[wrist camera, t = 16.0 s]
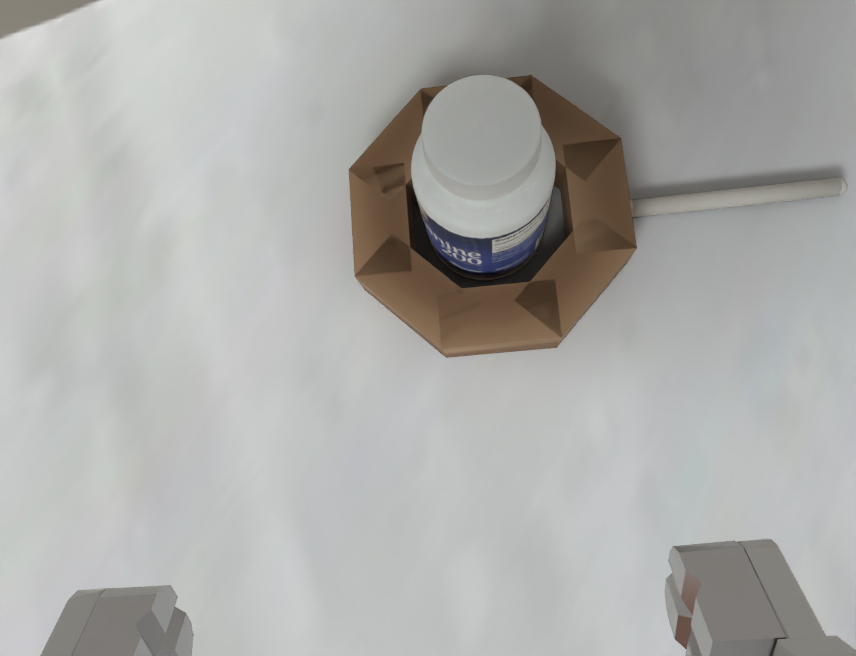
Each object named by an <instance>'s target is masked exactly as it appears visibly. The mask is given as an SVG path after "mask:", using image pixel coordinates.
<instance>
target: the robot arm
mask: <svg viewBox="0 0 856 656" xmlns="http://www.w3.org/2000/svg"><path fill="white" fill-rule="evenodd" d="M668 561H669V564H670V567H671V570H672V574H671V575H669V576H668V577H667V578H666V584H665V599H666V609H667V614H668V618H669V622H670V626H671V629H672V632H673V635H674V638H675V640H676V641H678V642H679V643H680V644H681V645H682V646H683V647H684V648H685V649H687V650H686V656H856V650H855V649H854V648H852V647H851V646H850V645H848V644H847V643H846V642H844V641H843V640H842V639H840V638H839V637H838V636H826V634H825V633H824V631H823V629H822V627H821V625H820V623H819V621H818V619H817V618H816V616H815V614H814V612H813V610H812V608H811V606H810V605H809V603H808V601H807V599H806V597H805V595H804V593H803V591H802V590H801V588H800V586H799V584H798V582H797V580H796V578H795V577H794V575H793V573H792V571H791V569H790V567H789V565H788V563H787V562H786V560H785V558H784V556H783V554H782V552H781V550H780V549H779V547H778V545H777V544H776V543H775V542H774V541H773V540H772V539H759V540H749V541H739V542H736V541H725V542H714V543H703V544H692V545H681V546H673V547H672V548H671V550H670V553H669V560H668ZM177 598H178V596H177V595H176V593H175V592H174V590H173V588H172V587H171V585H162V586H145V587H127V588H106V589H92V590H78V591H77V592H76V593H75V594H74V595H73V596H72V597H71V598H70V599H69V600H68V601H67V603H66V605H65V607H64V609H63V611H62V613H61V615H60V617H59V619H58V621H57V623H56V625H55V627H54V629H53V631H52V633H51V635H50V637H49V639H48V641H47V643H46V645H45V647H44V649H43V651H42V653H41V656H191V655H192V646H193V631H192V626H191V622H190V620H189V618H188V616H187V614H186V613H185V612H183V611H182V610H180V609H178V608H176V607H175V604H176V601H177Z"/></svg>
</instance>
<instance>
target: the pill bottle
mask: <svg viewBox="0 0 856 656" xmlns="http://www.w3.org/2000/svg"><path fill="white" fill-rule="evenodd" d="M555 169H556V161H555V152H554V149H553V145H552V142H551V140H550V138H549V136H548V134H547V132H546V131H545V129H544V128H543V126H542V125H541V119H540V115H539V112H538V109H537V107H536V105H535V103H534V101H533V100H532V98H531V97H530V96H529V94H528V93H527V92H526V91H525V90H524V89H523V88H521V87H520V86H518V85H517V84H516V83H514V82H512V81H510V80H508V79H505V78H502V77H498V76H494V75H474V76H469V77H465V78H462V79H459V80H457V81H455V82H453V83H451V84H450V85H448V86H447V87H445V88H444V89H443V90H441V91H440V92H439V93H438V94H437V95H436V96H435V98H434V99H433V100H432V102H431V103H430V105H429V106H428V108H427V111H426V113H425V115H424V119H423V123H422V132H421V134H420V136H419V138H418V140H417V142H416V145H415V148H414V151H413V155H412V162H411V176H412V182H413V188H414V191H415V195H416V198H417V201H418V205H419V208H420V212H421V215H422V218H423V221H424V224H425V227H426V230H427V233H428V237H429V239H430V242H431V244H432V247H433V249H434V251H435V252H436V254H437V256H438V257H439V259H440V260H441V261H442V262H443V263H444V264H445V265H446V266H447V267H449V268H450V269H451V270H452V271H454V272H456V273H458V274H460V275H461V276H464V277H467V278H470V279H475V280H494V279H499V278H503V277H506V276H509V275H511V274H512V273H515V272H516V271H518V270H519V269H520V268H522V267H523V266H524V265H525V264H527V263H528V261H529V260H530V259H531V258H532V257H533V255H534V254H535V252H536V250H537V248H538V246H539V244H540V242H541V239H542V236H543V232H544V227H545V223H546V217H547V212H548V208H549V204H550V199H551V194H552V189H553V186H554V181H555Z"/></svg>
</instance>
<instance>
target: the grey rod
mask: <svg viewBox="0 0 856 656" xmlns="http://www.w3.org/2000/svg"><path fill="white" fill-rule="evenodd" d="M847 187H848V185H847V182H846V180H844V179H843V178H829V179H819V180H810V181H801V182H791V183H782V184H773V185H764V186H754V187H745V188H736V189H726V190H717V191H708V192H698V193H689V194H680V195H670V196H661V197H652V198H642V199H633V200H630V205H631V212H632V217H641V216H651V215H660V214H670V213H679V212H689V211H698V210H708V209H717V208H727V207H736V206H746V205H755V204H765V203H774V202H784V201H793V200H803V199H812V198H822V197H831V196H839V195H842V194H843V193H844V192H845V191H846V190H847Z"/></svg>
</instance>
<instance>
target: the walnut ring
mask: <svg viewBox="0 0 856 656" xmlns="http://www.w3.org/2000/svg"><path fill="white" fill-rule="evenodd" d="M505 79H508V80H510V81H512V82H514V83H516V84H517V85H518V86H520V87H521V88H523V89H524V90H525V91H526V92H527V93H528V94H529V96H530V97H531V98H532V100H533V101H534V103H535V105H536V107H537V109H538V112H539V115H540V119H541V125H542V126H543V128H544V129H545V131H546V132H547V134H548V136H549V138H550V140H551V142H552V145H553V149H554V152H555V161H556V169H555V181H554V185H555V186H556V187H557V188H559V189H560V192H561V200H562V208H563V216H564V225H565V233H566V240H565V241H564V242H563V243H562V244H561V246H560V247H559V248H558V249H557V250H556V252H555V253H554V254H553V255H552V256H551V257H550V259H549V260H548V261H547V262H546V263H545V265H544V266H543V267H542V268H541V269H540V270H539V272H538V273H537V274H536V275H535V276H534V278H533V279H532V280H531V281H530V282H521V283H511V284H501V285H491V286H481V287H470V288H460V287H459V286H458V285H456V284H455V283H454V282H453V281H451V280H450V279H449V278H448V277H446V276H445V275H444V274H443V273H441V272H440V271H439V270H438V269H436V268H435V267H434V266H433V265H431V264H430V263H429V262H428V261H427V260H425V259H424V258H423V257H422V256H420V255H419V254H418V253H417V252H416V245H415V232H414V218H413V205H414V204H415V202H416V201H417V198H416V195H415V191H414V188H413V182H412V176H411V162H412V155H413V151H414V148H415V145H416V142H417V140H418V138H419V136H420V134H421V132H422V123H423V119H424V115H425V113H426V111H427V108H428V106H429V105H430V103H431V102H432V100H433V99H434V98H435V96H436V95H437V94H438V93H439V92H440V91H441V90H443V89H444V88H445V87H447V86H439V87H431V88H423V89H420V90H419V91H418V93H417V94H416V95H415V96H414V97H413V98H412V99H411V100H410V101H409V103H408V104H407V105H406V106H405V107H404V108H403V109H402V110H401V112H400V113H399V114H398V115H397V116H396V117H395V118H394V119H393V121H392V122H391V123H390V124H389V125H388V126H387V127H386V128H385V129H384V131H383V132H382V133H381V134H380V135H379V136H378V137H377V138H376V140H375V141H374V142H373V143H372V144H371V145H370V146H369V147H368V149H367V150H366V151H365V152H364V153H363V154H362V155H361V156H360V157H359V159H358V160H357V161H356V162H355V163H354V164H353V165H352V166H351V168H350V169H349V181H350V199H351V218H352V236H353V254H354V272H355V277H356V279H357V280H358V281H359V283H360V284H361V285H362V286H363V288H364V289H365V290H366V291H367V292H368V293H369V294H371V295H372V296H373V297H374V298H375V299H377V300H378V301H379V302H380V303H381V304H383V305H384V306H385V307H386V308H387V309H389V310H390V311H391V312H392V313H393V314H395V315H396V316H397V317H398V318H399V319H401V320H402V321H403V322H404V323H405V324H407V325H408V326H409V327H410V328H411V329H413V330H414V331H415V332H416V333H417V334H419V335H420V336H421V337H422V338H423V339H425V340H426V341H427V342H428V343H429V344H431V345H432V346H433V347H434V348H435V349H437V350H438V351H439V352H440V353H441V354H443V355H444V356H445V357H446V358H447V357H457V356H468V355H479V354H490V353H501V352H512V351H523V350H535V349H546V348H557V346H558V345H559V344H560V343H561V341H562V340H563V339H564V338H565V337H566V335H567V334H568V333H569V332H570V331H571V329H572V328H573V327H574V326H575V325H576V323H577V322H578V321H579V320H580V319H581V317H582V316H583V315H584V314H585V313H586V311H587V310H588V309H589V308H590V307H591V305H592V304H593V303H594V302H595V301H596V299H597V298H598V297H599V296H600V295H601V293H602V292H603V291H604V290H605V289H606V287H607V286H608V285H609V284H610V283H611V281H612V280H613V279H614V278H615V277H616V275H617V274H618V273H619V272H620V271H621V269H622V268H623V267H624V266H625V265H626V264H627V262H628V260H629V259H630V257H631V256H632V254H633V253H634V251H635V250H636V248H637V246H636V239H635V232H634V225H633V218H632V212H631V205H630V198H629V191H628V184H627V177H626V170H625V163H624V156H623V149H622V142H621V138H620V137H619V136H617V135H616V134H614V133H613V132H611V131H610V130H609V129H607V128H606V127H604V126H603V125H601V124H600V123H599V122H597V121H596V120H594V119H593V118H591V117H590V116H589V115H587V114H586V113H584V112H583V111H581V110H580V109H579V108H577V107H576V106H574V105H573V104H571V103H570V102H569V101H567V100H566V99H564V98H563V97H561V96H560V95H559V94H557V93H556V92H554V91H553V90H551V89H550V88H549V87H547V86H546V85H544V84H543V83H541V82H540V81H539V80H537V79H536V78H534V77H533V76H531V75H528V76H520V77H512V78H505Z"/></svg>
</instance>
